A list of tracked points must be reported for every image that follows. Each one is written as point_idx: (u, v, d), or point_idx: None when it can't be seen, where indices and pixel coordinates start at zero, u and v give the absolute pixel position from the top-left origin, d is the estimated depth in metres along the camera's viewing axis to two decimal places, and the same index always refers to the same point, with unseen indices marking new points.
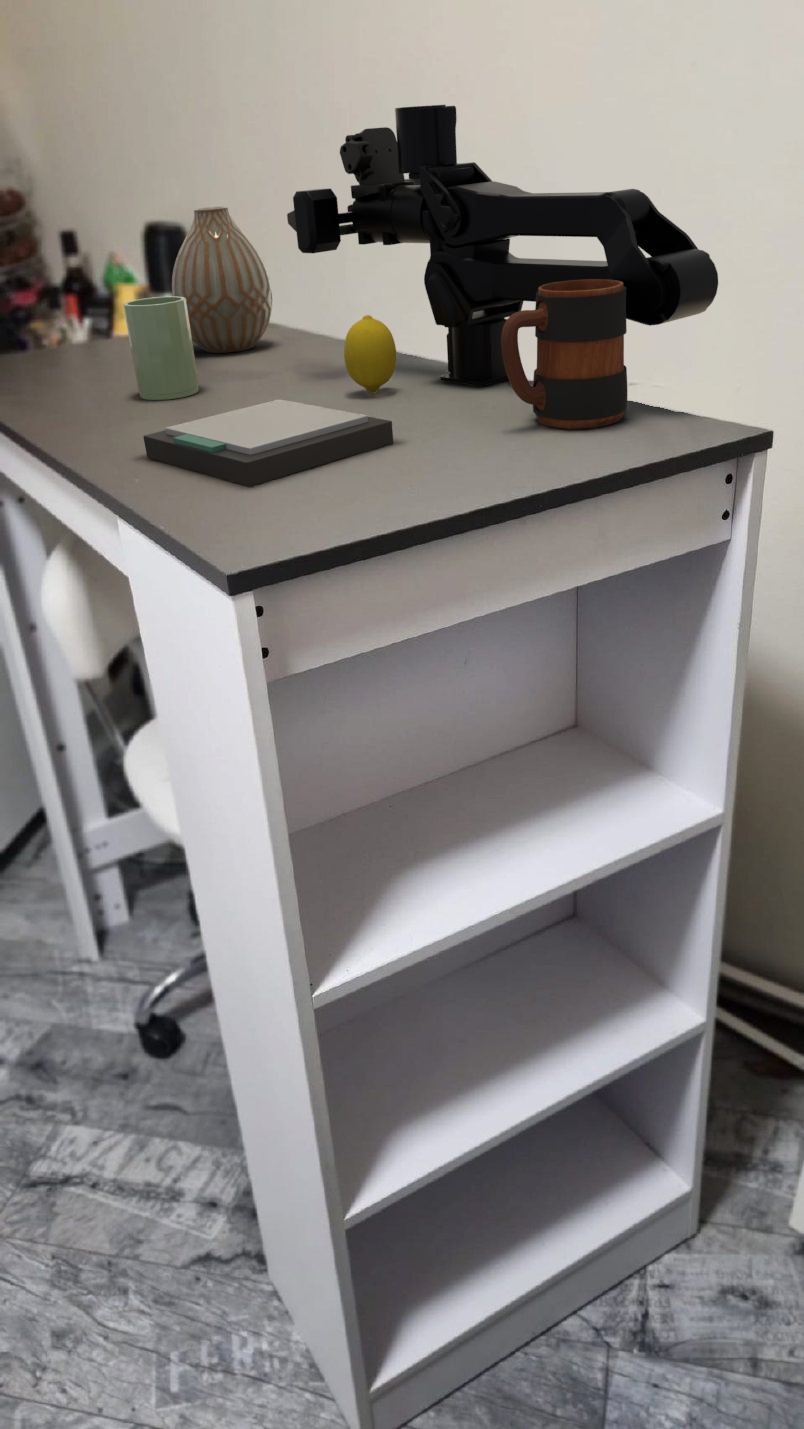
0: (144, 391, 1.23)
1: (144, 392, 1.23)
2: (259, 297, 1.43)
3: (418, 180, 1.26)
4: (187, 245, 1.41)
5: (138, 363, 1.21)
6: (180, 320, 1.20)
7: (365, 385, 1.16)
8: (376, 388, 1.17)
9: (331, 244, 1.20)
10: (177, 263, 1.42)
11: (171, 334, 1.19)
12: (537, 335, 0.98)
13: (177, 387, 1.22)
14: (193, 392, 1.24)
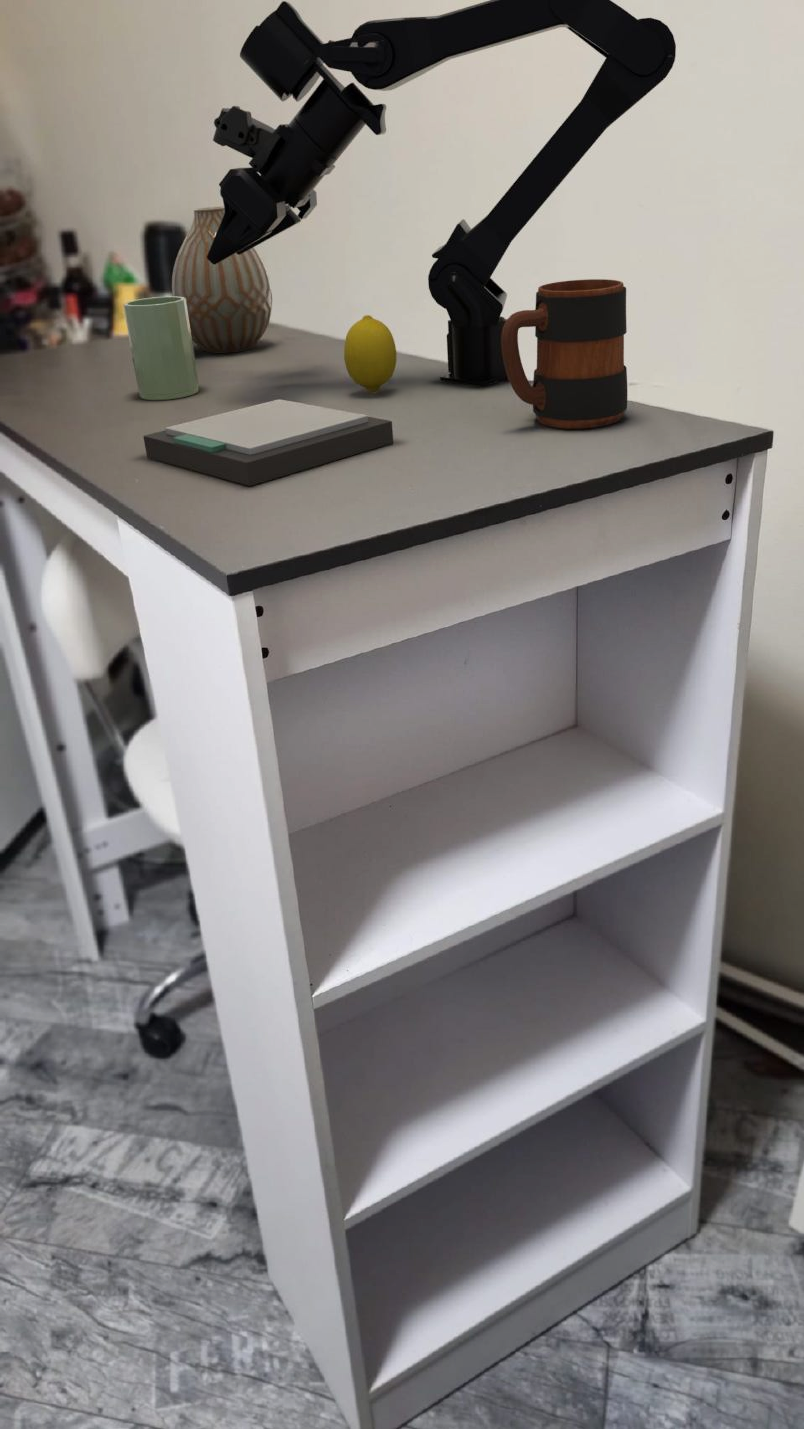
0: (144, 391, 1.23)
1: (144, 392, 1.23)
2: (259, 297, 1.43)
3: None
4: (187, 245, 1.41)
5: (138, 363, 1.21)
6: (180, 320, 1.20)
7: (365, 385, 1.16)
8: (376, 388, 1.17)
9: (282, 205, 1.09)
10: (177, 263, 1.42)
11: (171, 334, 1.19)
12: (537, 335, 0.98)
13: (177, 387, 1.22)
14: (193, 392, 1.24)
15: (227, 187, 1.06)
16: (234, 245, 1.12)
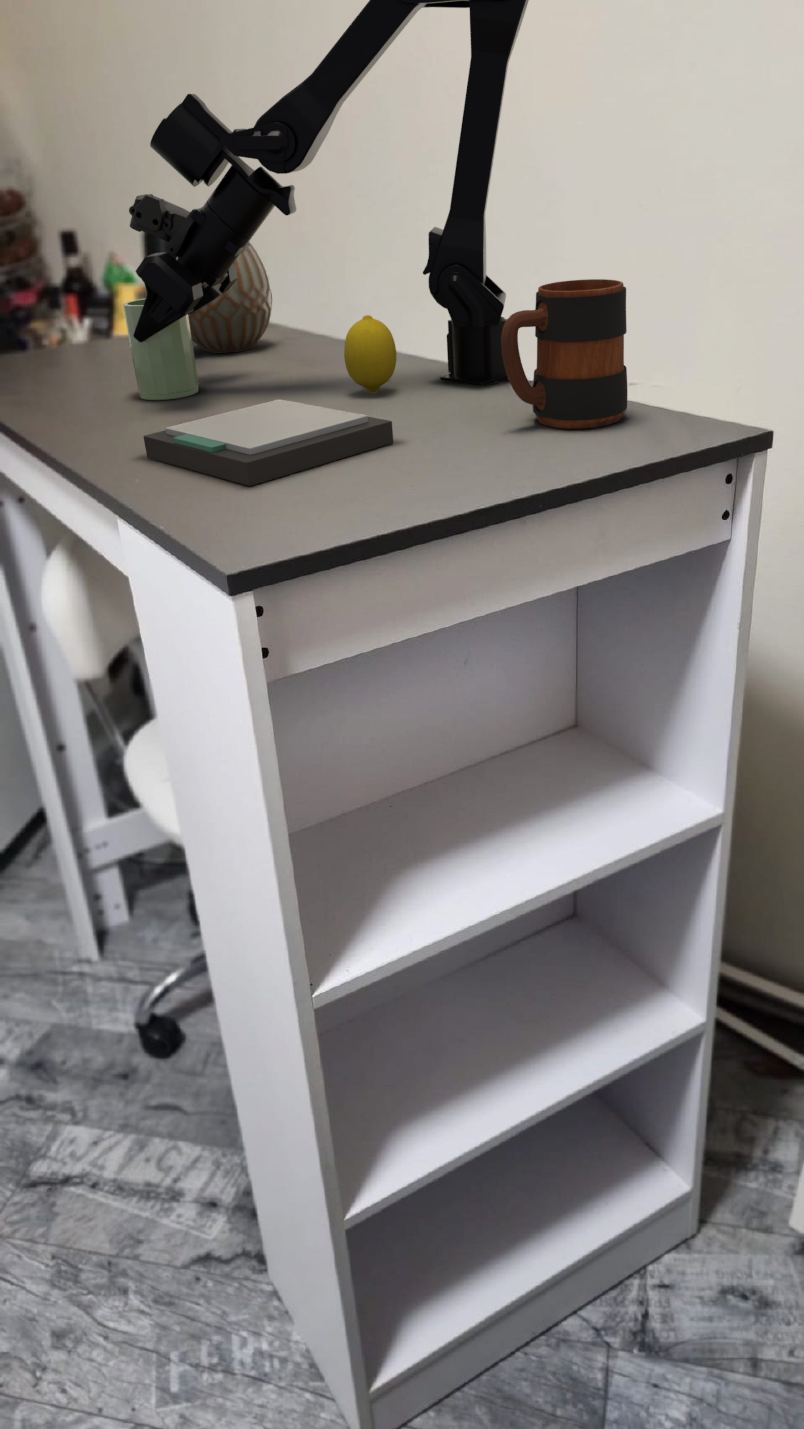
0: (144, 391, 1.23)
1: (144, 392, 1.23)
2: (259, 297, 1.43)
3: None
4: None
5: (138, 363, 1.21)
6: (180, 320, 1.20)
7: (365, 385, 1.16)
8: (376, 388, 1.17)
9: (198, 287, 1.13)
10: None
11: (171, 334, 1.19)
12: (537, 335, 0.98)
13: (177, 387, 1.22)
14: (193, 392, 1.24)
15: (143, 274, 1.10)
16: (158, 324, 1.17)
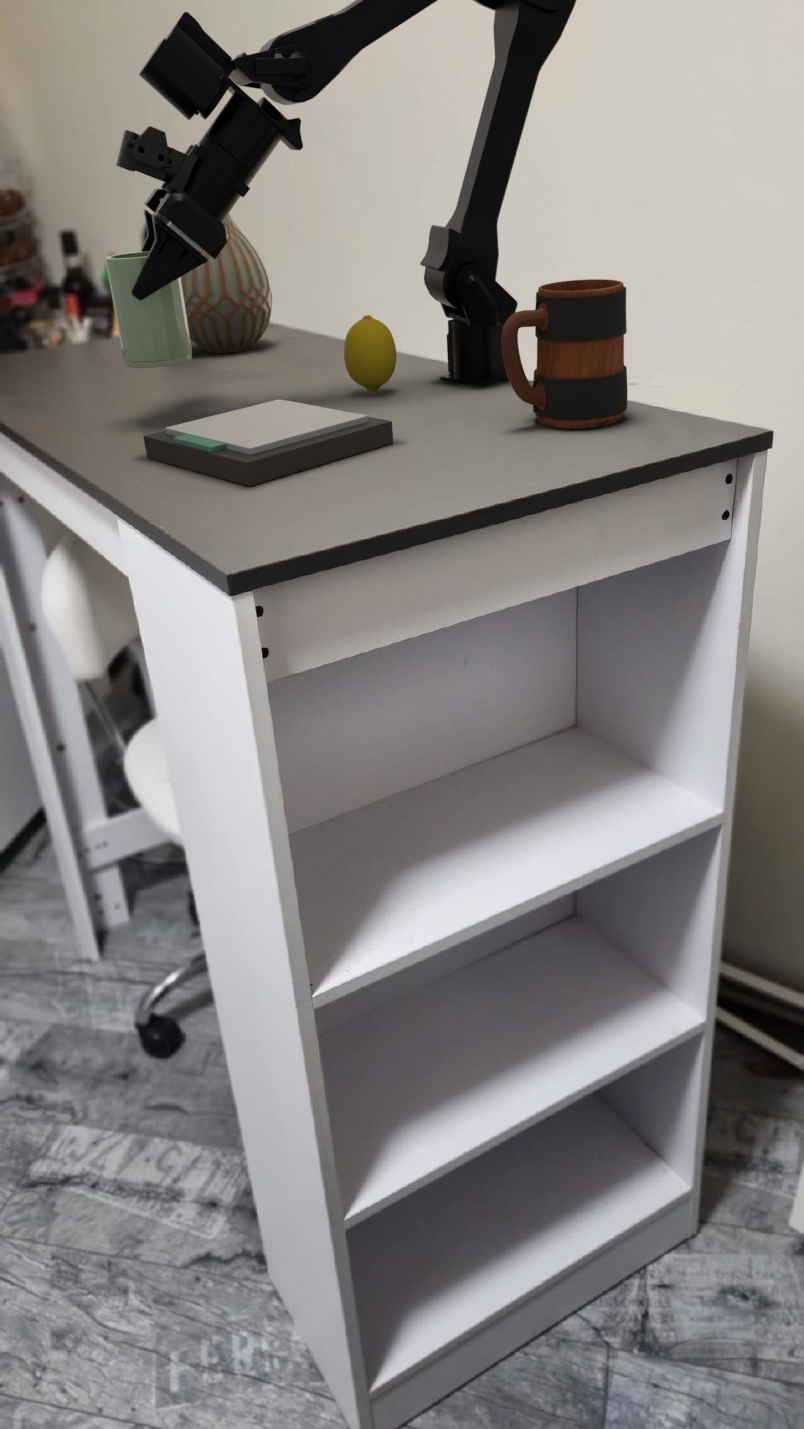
0: (140, 358, 1.07)
1: (140, 359, 1.07)
2: (259, 297, 1.43)
3: None
4: None
5: (132, 326, 1.06)
6: None
7: (365, 385, 1.16)
8: (376, 388, 1.17)
9: None
10: None
11: (171, 289, 1.05)
12: (537, 335, 0.98)
13: (179, 351, 1.08)
14: (191, 356, 1.10)
15: (171, 213, 0.96)
16: (166, 277, 1.03)
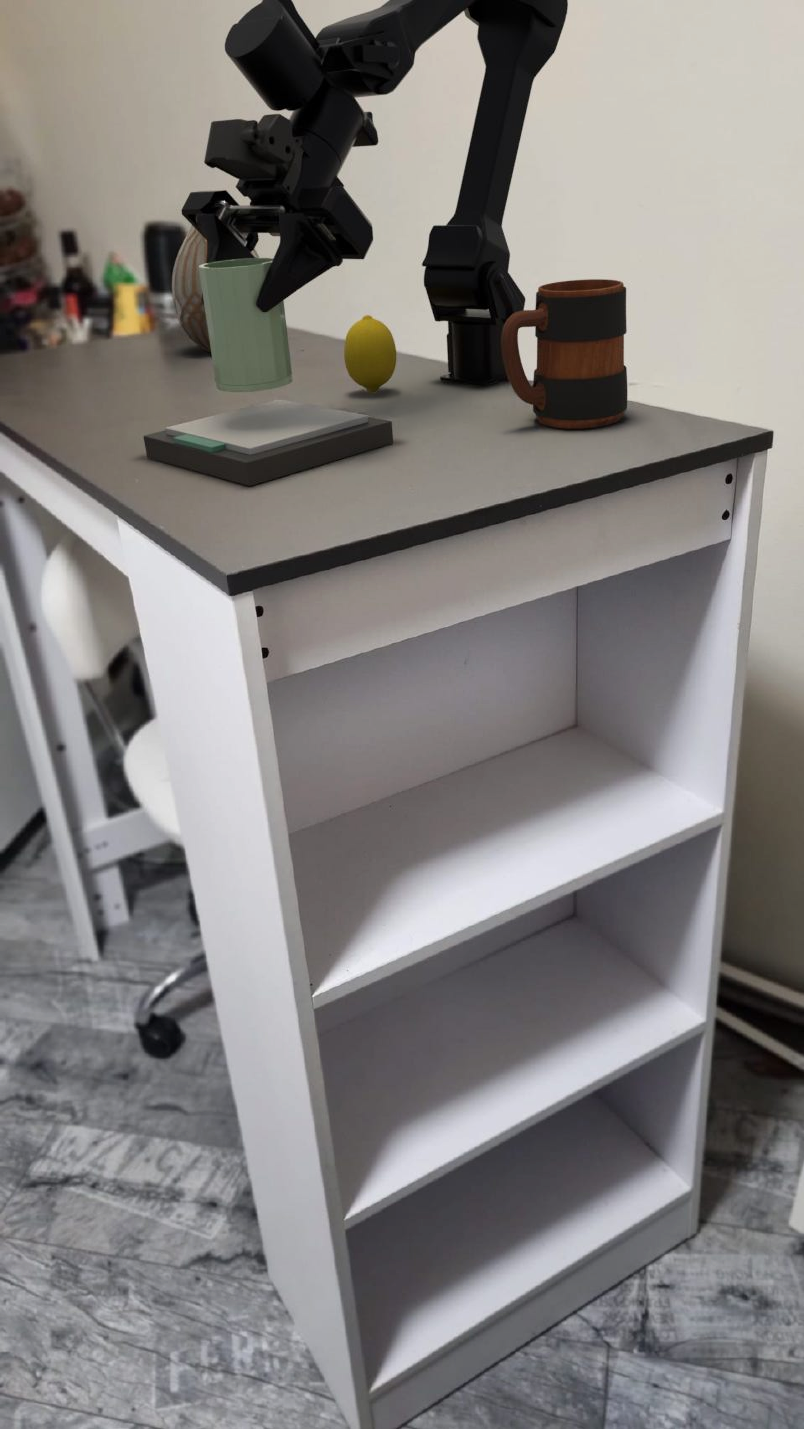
0: (258, 380, 0.94)
1: (257, 381, 0.94)
2: None
3: (201, 191, 0.96)
4: (187, 245, 1.41)
5: (251, 343, 0.92)
6: None
7: (365, 385, 1.16)
8: (376, 388, 1.17)
9: None
10: (177, 263, 1.42)
11: None
12: (537, 335, 0.98)
13: (290, 368, 0.96)
14: None
15: (335, 209, 0.87)
16: (294, 284, 0.91)
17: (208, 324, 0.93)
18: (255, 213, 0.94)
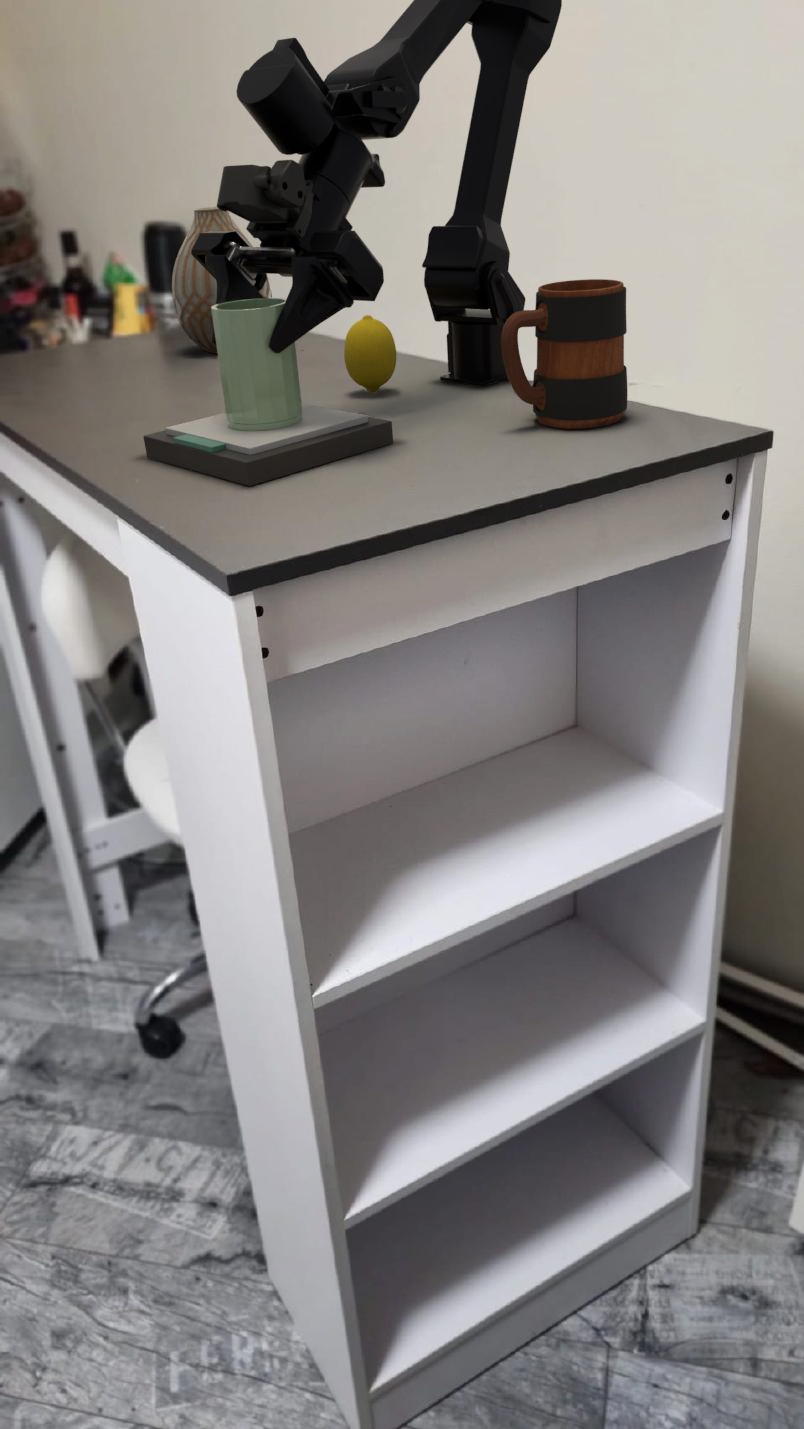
0: (270, 419, 0.95)
1: (269, 420, 0.95)
2: None
3: (211, 232, 0.97)
4: (187, 245, 1.41)
5: (263, 383, 0.93)
6: None
7: (365, 385, 1.16)
8: (376, 388, 1.17)
9: None
10: (177, 263, 1.42)
11: None
12: (537, 335, 0.98)
13: (300, 406, 0.97)
14: None
15: (348, 253, 0.88)
16: (306, 325, 0.93)
17: (220, 364, 0.94)
18: (264, 255, 0.95)
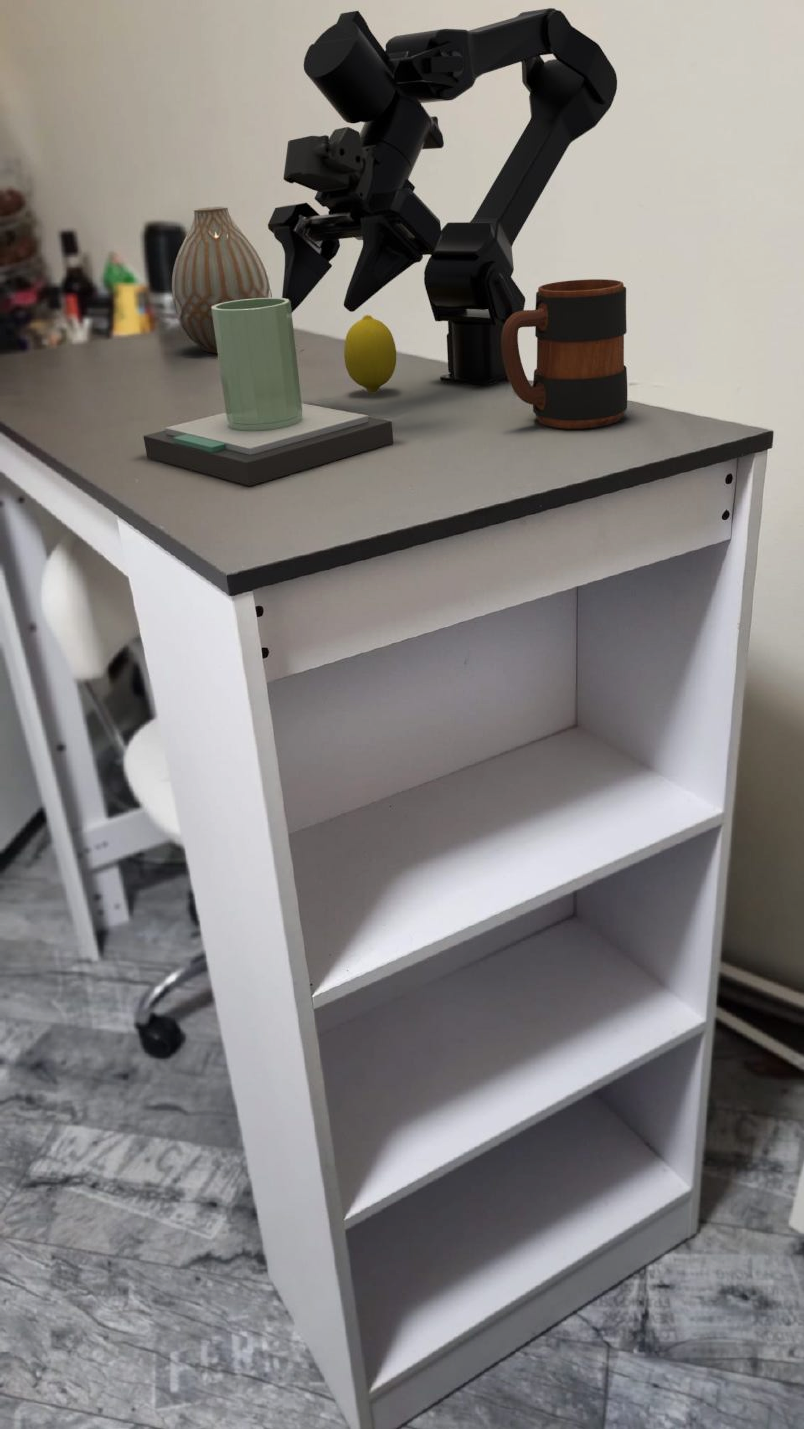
0: (270, 419, 0.95)
1: (269, 420, 0.95)
2: (259, 297, 1.43)
3: (284, 206, 1.04)
4: (187, 245, 1.41)
5: (263, 383, 0.93)
6: None
7: (365, 385, 1.16)
8: (376, 388, 1.17)
9: None
10: (177, 263, 1.42)
11: (294, 339, 0.95)
12: (537, 335, 0.98)
13: (300, 406, 0.97)
14: None
15: (403, 209, 0.93)
16: (378, 283, 0.97)
17: (220, 364, 0.94)
18: (326, 222, 1.02)
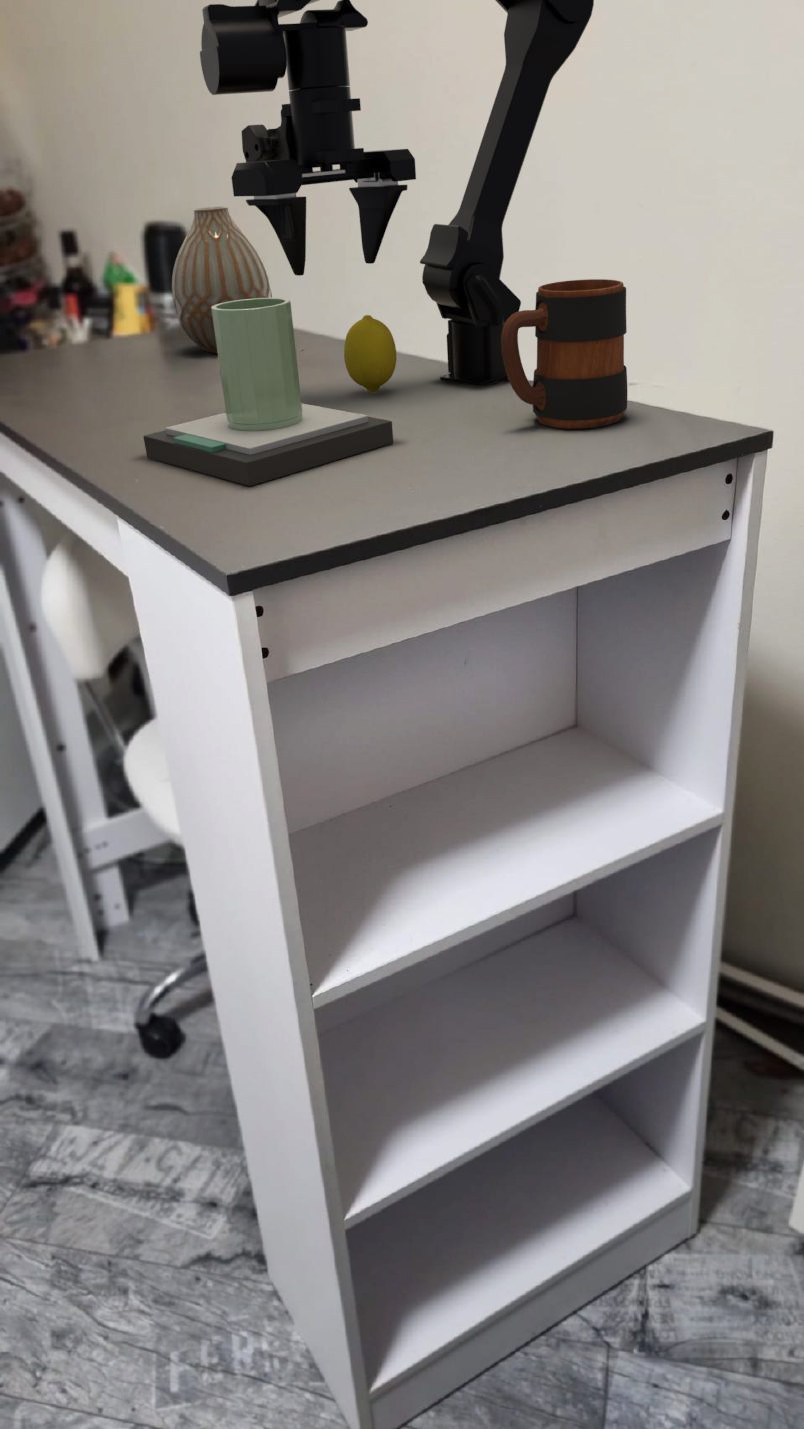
0: (270, 419, 0.95)
1: (269, 420, 0.95)
2: (259, 297, 1.43)
3: None
4: (187, 245, 1.41)
5: (263, 383, 0.93)
6: None
7: (365, 385, 1.16)
8: (376, 388, 1.17)
9: (286, 162, 0.99)
10: (177, 263, 1.42)
11: (294, 339, 0.95)
12: (537, 335, 0.98)
13: (300, 406, 0.97)
14: None
15: (235, 190, 1.01)
16: (293, 240, 1.03)
17: (220, 364, 0.94)
18: None
